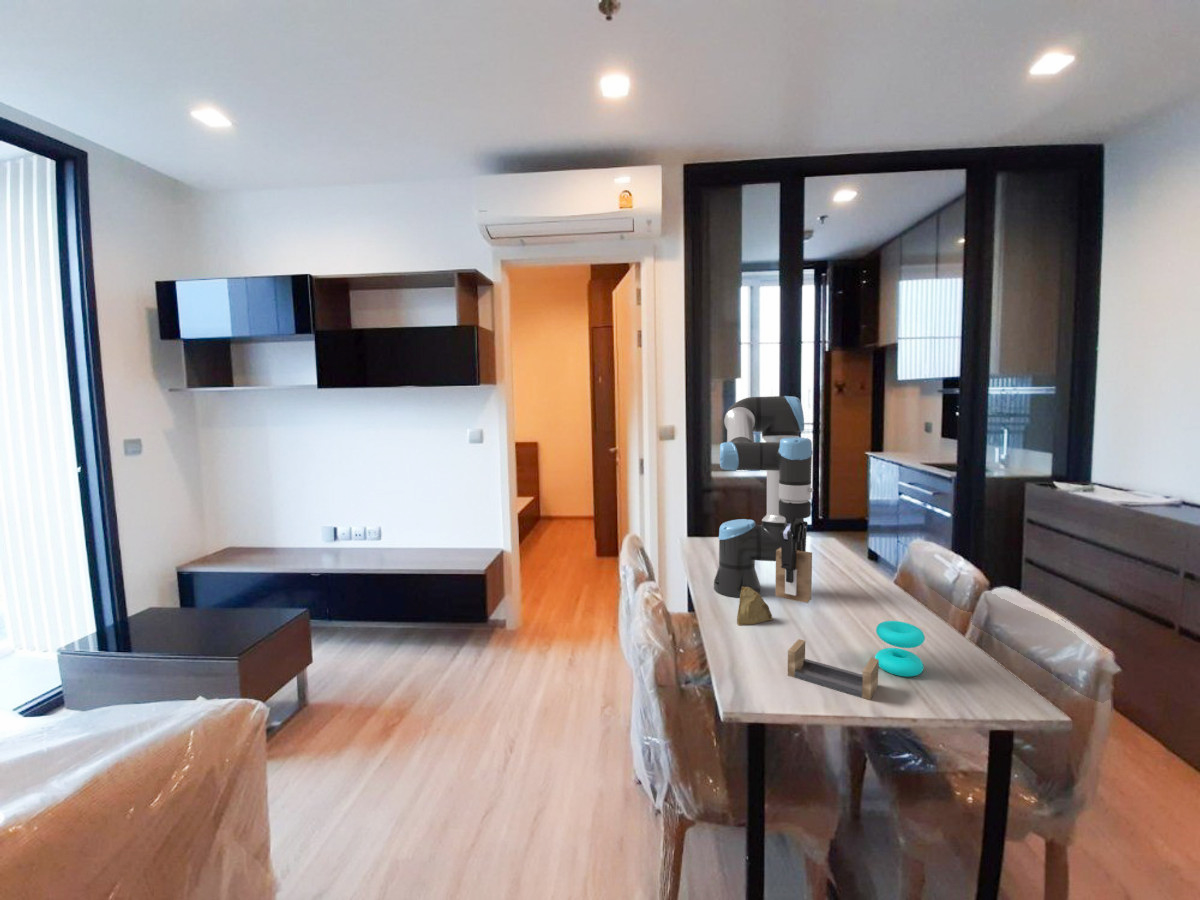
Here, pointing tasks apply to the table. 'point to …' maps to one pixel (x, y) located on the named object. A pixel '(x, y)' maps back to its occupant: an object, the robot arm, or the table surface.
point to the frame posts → (869, 673)
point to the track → (831, 677)
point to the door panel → (802, 577)
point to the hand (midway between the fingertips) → (793, 591)
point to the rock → (752, 608)
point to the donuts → (898, 658)
